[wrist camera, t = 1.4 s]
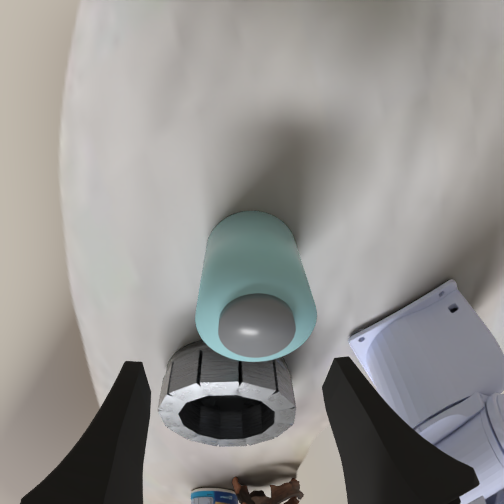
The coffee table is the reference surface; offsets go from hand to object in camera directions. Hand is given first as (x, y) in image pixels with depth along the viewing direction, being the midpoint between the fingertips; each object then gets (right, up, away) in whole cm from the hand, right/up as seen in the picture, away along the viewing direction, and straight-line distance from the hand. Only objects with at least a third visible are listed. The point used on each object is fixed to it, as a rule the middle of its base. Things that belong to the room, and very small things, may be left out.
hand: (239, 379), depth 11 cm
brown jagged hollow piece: (+2, -30, +28) cm, 41 cm away
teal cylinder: (0, +5, +7) cm, 9 cm away
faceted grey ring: (-2, -6, +13) cm, 14 cm away
